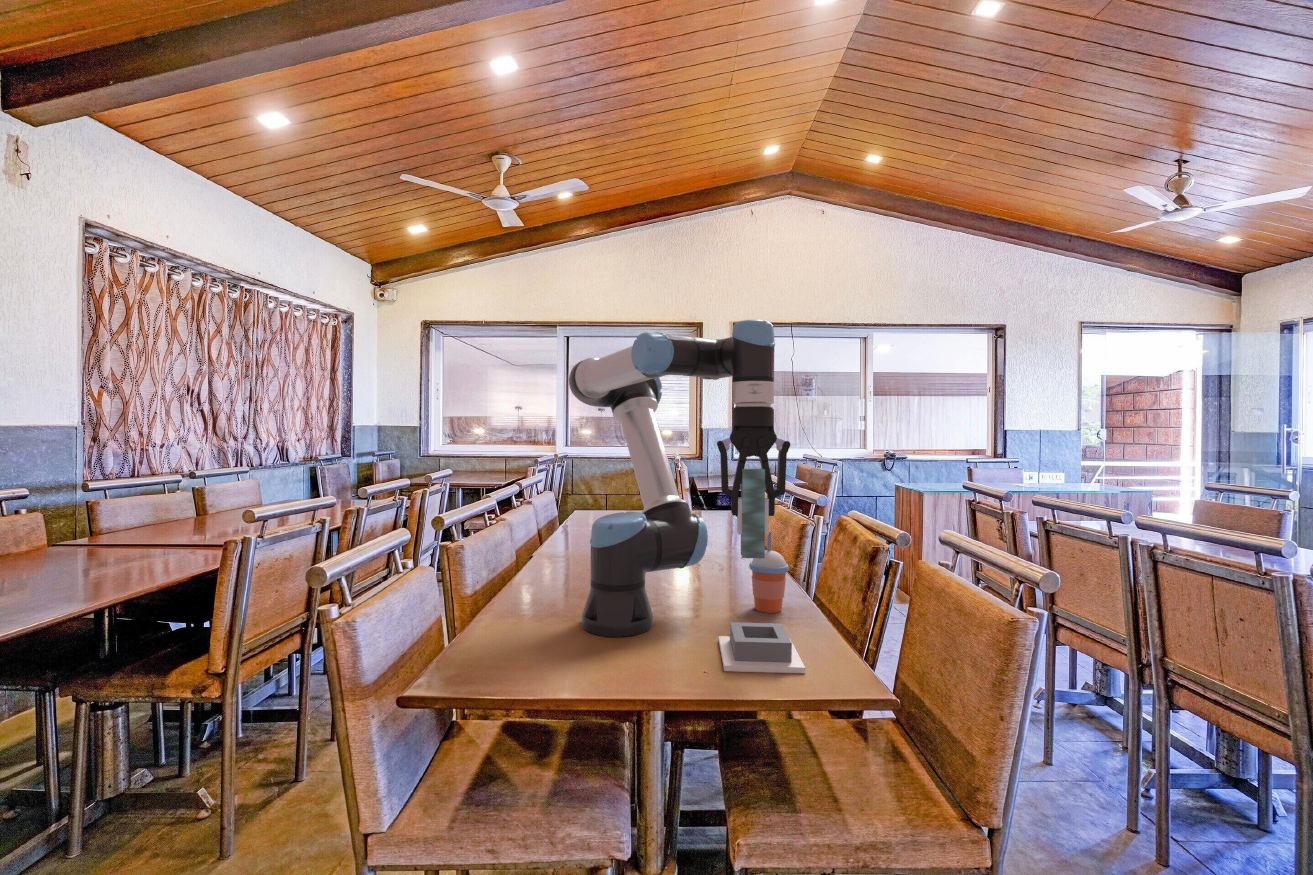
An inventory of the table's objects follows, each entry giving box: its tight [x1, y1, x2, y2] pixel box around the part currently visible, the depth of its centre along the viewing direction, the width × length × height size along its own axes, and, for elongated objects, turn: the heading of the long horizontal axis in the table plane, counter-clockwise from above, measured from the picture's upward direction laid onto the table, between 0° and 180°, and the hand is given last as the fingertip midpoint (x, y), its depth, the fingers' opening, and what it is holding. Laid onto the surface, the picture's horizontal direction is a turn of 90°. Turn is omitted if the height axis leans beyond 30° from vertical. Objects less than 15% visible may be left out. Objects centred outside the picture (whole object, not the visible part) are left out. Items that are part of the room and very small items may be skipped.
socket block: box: [718, 621, 806, 674], centre depth 108 cm, size 14×14×4 cm
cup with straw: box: [748, 531, 790, 614], centre depth 136 cm, size 9×9×18 cm
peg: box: [740, 467, 766, 559], centre depth 107 cm, size 4×4×16 cm
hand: (752, 533), depth 107 cm, fingers closed on peg, 4 cm apart
